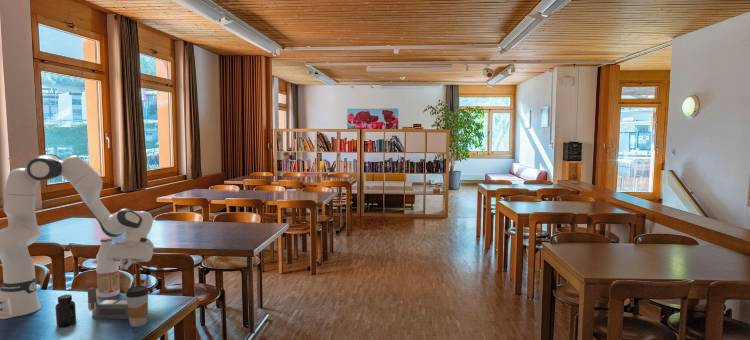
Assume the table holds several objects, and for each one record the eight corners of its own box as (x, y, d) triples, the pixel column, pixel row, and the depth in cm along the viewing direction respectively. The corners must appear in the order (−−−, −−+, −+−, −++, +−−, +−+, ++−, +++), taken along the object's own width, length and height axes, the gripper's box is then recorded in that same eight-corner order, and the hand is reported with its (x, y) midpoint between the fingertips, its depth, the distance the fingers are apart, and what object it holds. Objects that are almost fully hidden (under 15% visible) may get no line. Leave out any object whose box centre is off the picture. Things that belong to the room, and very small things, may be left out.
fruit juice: (98, 299, 220) (96, 241, 218) (96, 294, 228) (93, 238, 226) (121, 295, 226) (118, 239, 224) (118, 290, 233) (115, 235, 231)
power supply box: (87, 318, 197) (87, 301, 197) (97, 313, 203) (96, 296, 203) (128, 319, 196) (127, 301, 196) (136, 313, 203) (136, 296, 202)
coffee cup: (140, 329, 187) (138, 292, 185) (122, 327, 188) (120, 291, 187) (154, 320, 195) (152, 286, 194) (136, 319, 196) (135, 284, 195)
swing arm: (90, 297, 200) (90, 278, 200) (98, 296, 202) (98, 277, 201) (88, 311, 185) (87, 290, 184) (97, 309, 186) (96, 289, 185)
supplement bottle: (72, 320, 196) (71, 292, 195) (78, 324, 192) (77, 295, 191) (54, 325, 191) (52, 296, 190) (59, 329, 186) (58, 300, 185)
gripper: (109, 239, 217) (97, 265, 208) (152, 239, 216) (142, 265, 207) (115, 246, 222) (104, 272, 213) (157, 246, 221) (147, 272, 212)
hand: (123, 269), depth 210 cm, fingers closed
